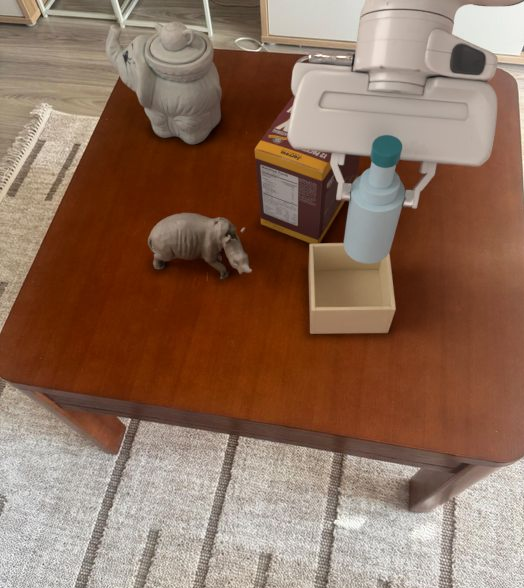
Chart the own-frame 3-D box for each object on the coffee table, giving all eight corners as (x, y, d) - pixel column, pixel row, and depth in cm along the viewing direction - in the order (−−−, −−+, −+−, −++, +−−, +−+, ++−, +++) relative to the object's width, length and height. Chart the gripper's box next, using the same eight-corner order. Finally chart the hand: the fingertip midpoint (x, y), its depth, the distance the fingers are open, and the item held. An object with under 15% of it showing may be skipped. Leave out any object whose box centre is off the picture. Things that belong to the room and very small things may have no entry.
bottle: (388, 225, 64) (414, 123, 51) (393, 263, 61) (421, 166, 48) (342, 226, 64) (355, 125, 51) (344, 264, 62) (359, 168, 48)
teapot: (124, 111, 98) (89, 8, 82) (196, 82, 101) (176, -24, 84) (160, 166, 92) (129, 66, 75) (236, 133, 94) (223, 28, 77)
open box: (381, 269, 79) (388, 241, 74) (387, 332, 75) (395, 309, 69) (308, 270, 80) (309, 243, 74) (310, 333, 75) (311, 310, 69)
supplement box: (358, 180, 88) (370, 98, 74) (318, 247, 82) (323, 172, 68) (302, 161, 90) (303, 78, 76) (259, 224, 85) (253, 148, 71)
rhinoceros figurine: (149, 217, 83) (184, 175, 70) (223, 258, 89) (268, 226, 76) (131, 259, 80) (165, 223, 68) (209, 298, 86) (253, 272, 73)
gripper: (290, 42, 50) (275, 194, 54) (517, 58, 47) (480, 217, 51) (297, 56, 55) (283, 192, 60) (499, 71, 53) (468, 212, 57)
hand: (376, 204), depth 56 cm, fingers closed on bottle, 5 cm apart
